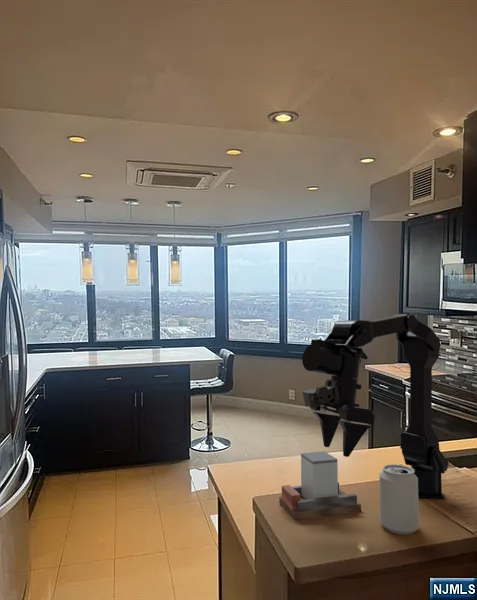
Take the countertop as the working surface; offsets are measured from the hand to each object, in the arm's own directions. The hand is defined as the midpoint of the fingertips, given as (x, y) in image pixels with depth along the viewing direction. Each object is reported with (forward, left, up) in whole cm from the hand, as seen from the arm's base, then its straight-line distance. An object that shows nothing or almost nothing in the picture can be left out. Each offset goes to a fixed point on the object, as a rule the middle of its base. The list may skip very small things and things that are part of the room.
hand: (335, 451), depth 93 cm
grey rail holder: (+3, -8, -15) cm, 17 cm away
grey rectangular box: (+3, -8, -13) cm, 16 cm away
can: (-13, +1, -15) cm, 20 cm away
